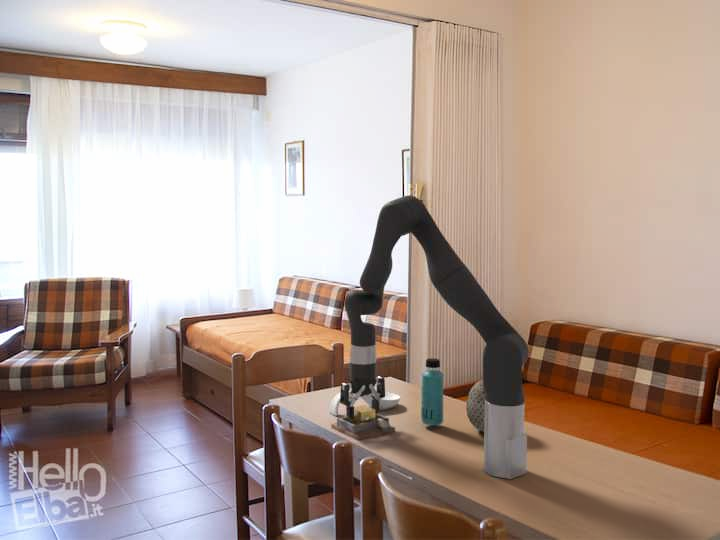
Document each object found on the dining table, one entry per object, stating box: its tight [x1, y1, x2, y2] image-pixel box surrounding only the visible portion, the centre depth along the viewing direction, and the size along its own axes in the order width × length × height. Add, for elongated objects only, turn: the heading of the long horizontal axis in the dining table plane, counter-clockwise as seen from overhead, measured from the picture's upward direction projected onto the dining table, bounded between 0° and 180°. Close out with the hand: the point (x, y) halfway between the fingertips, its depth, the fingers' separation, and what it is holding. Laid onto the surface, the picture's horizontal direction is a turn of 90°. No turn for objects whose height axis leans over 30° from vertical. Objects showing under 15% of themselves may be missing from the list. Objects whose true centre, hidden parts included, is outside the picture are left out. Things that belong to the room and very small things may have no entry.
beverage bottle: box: [420, 357, 445, 426], centre depth 190 cm, size 6×7×20 cm
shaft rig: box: [330, 410, 396, 441], centre depth 188 cm, size 15×13×4 cm
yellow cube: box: [351, 404, 375, 425], centre depth 188 cm, size 5×5×5 cm
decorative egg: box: [465, 379, 485, 433], centre depth 186 cm, size 12×12×15 cm
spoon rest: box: [328, 388, 401, 417], centre depth 207 cm, size 24×12×7 cm, turn 120°
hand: (362, 415), depth 188 cm, fingers open, 8 cm apart
